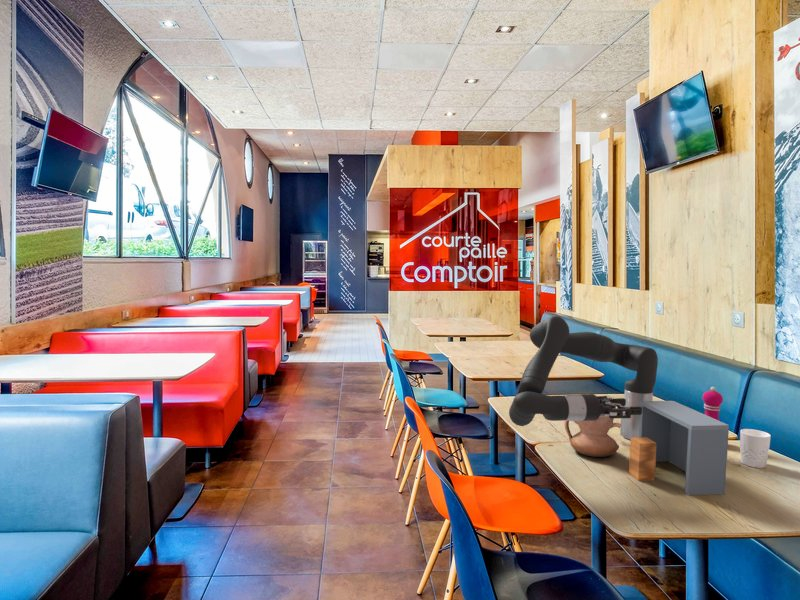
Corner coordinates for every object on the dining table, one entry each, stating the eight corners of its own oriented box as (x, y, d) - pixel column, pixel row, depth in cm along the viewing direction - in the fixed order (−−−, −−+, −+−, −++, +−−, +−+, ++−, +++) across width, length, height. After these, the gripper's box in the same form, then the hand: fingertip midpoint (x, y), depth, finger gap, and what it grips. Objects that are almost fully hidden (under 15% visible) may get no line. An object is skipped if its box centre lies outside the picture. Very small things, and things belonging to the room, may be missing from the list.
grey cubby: (687, 495, 139) (691, 425, 137) (638, 460, 163) (640, 401, 162) (724, 493, 140) (729, 425, 138) (669, 459, 164) (673, 400, 163)
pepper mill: (725, 447, 176) (729, 389, 174) (702, 445, 177) (706, 388, 176) (717, 440, 183) (720, 385, 181) (695, 438, 184) (698, 383, 183)
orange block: (638, 480, 148) (639, 443, 147) (628, 473, 153) (630, 437, 152) (654, 480, 148) (656, 443, 147) (644, 473, 153) (646, 437, 152)
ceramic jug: (625, 452, 170) (626, 409, 169) (615, 465, 158) (616, 419, 157) (571, 441, 180) (571, 401, 180) (557, 453, 169) (558, 410, 168)
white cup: (765, 461, 163) (767, 431, 163) (771, 470, 156) (773, 438, 155) (736, 457, 167) (738, 427, 166) (740, 466, 159) (742, 434, 159)
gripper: (591, 401, 139) (647, 400, 141) (569, 388, 153) (620, 387, 155) (590, 428, 140) (646, 426, 141) (568, 412, 154) (619, 411, 156)
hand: (632, 406), depth 148 cm, fingers open, 8 cm apart
